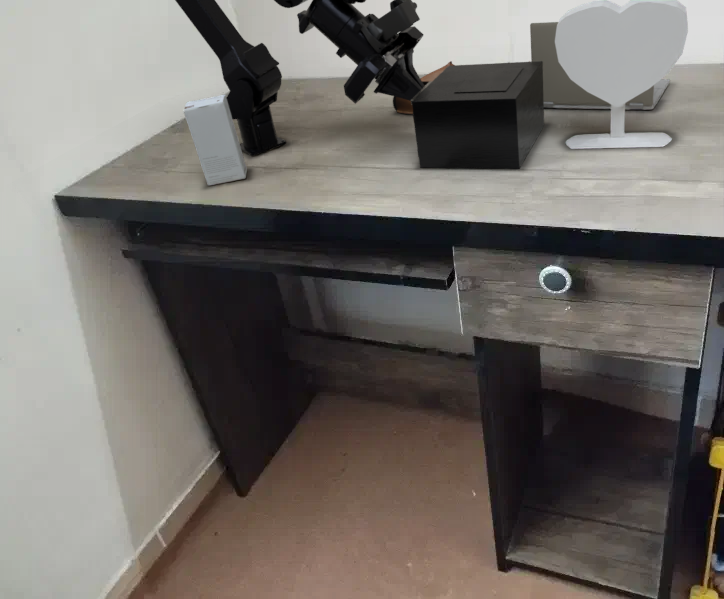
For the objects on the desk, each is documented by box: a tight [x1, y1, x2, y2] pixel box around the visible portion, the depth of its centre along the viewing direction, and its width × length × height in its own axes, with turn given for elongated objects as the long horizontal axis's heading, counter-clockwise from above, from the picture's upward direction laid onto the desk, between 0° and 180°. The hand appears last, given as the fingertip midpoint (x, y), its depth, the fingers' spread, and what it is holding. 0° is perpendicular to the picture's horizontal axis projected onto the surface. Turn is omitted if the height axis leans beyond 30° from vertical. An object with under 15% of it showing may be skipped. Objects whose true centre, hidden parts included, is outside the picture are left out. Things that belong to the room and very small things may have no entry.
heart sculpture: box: [555, 0, 689, 150], centre depth 93 cm, size 16×5×18 cm, turn 70°
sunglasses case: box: [392, 61, 454, 116], centre depth 126 cm, size 18×7×7 cm
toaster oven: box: [411, 61, 545, 170], centre depth 102 cm, size 15×16×10 cm
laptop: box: [529, 21, 671, 111], centre depth 110 cm, size 18×12×13 cm
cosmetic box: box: [182, 94, 248, 186], centre depth 107 cm, size 6×4×12 cm
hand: (429, 102), depth 104 cm, fingers closed, pressing on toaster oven
